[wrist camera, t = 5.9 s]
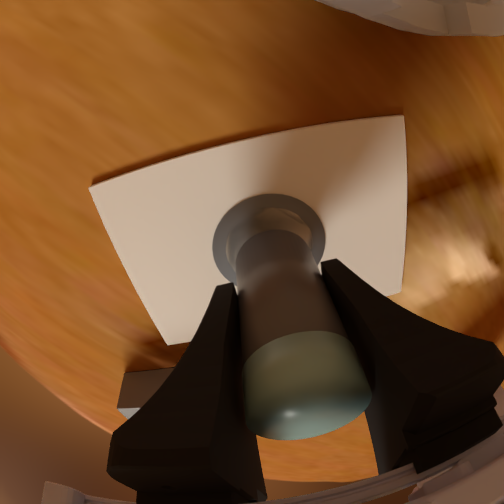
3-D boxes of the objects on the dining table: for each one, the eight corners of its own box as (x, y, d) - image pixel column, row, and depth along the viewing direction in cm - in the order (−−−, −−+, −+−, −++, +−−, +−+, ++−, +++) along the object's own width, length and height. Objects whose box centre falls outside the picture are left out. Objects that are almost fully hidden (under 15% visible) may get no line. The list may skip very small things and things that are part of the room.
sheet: (400, 114, 11) (405, 116, 11) (398, 288, 17) (401, 293, 16) (90, 185, 12) (87, 188, 12) (167, 341, 17) (167, 346, 17)
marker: (315, 284, 14) (366, 422, 8) (244, 301, 14) (259, 447, 8) (307, 220, 12) (378, 362, 6) (225, 238, 12) (230, 397, 6)
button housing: (219, 360, 18) (220, 400, 16) (245, 410, 22) (248, 442, 20) (124, 373, 19) (116, 408, 16) (165, 418, 22) (162, 449, 20)
